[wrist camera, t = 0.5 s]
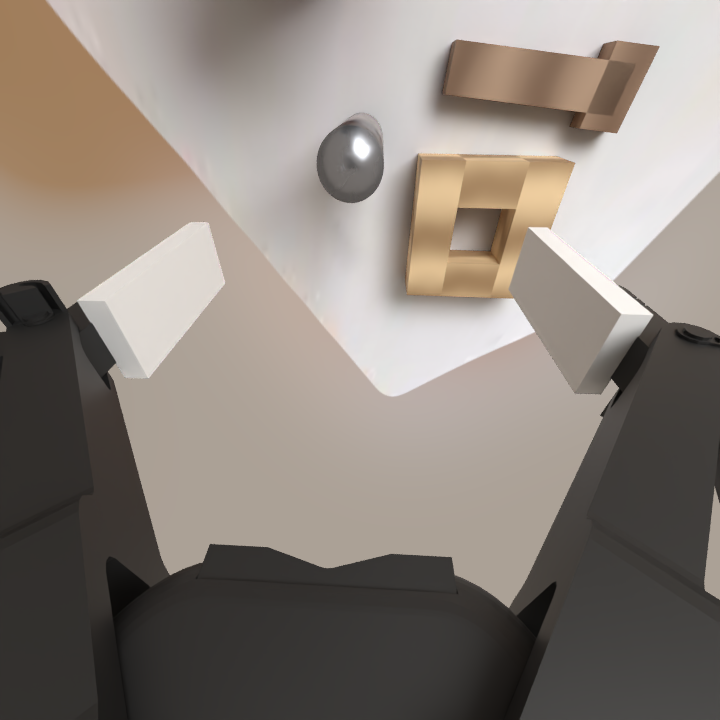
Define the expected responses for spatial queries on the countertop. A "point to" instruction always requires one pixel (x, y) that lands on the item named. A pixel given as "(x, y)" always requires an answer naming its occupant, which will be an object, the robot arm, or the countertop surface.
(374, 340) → the countertop surface
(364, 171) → the pin
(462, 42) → the bar
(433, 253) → the socket block
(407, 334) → the countertop surface
